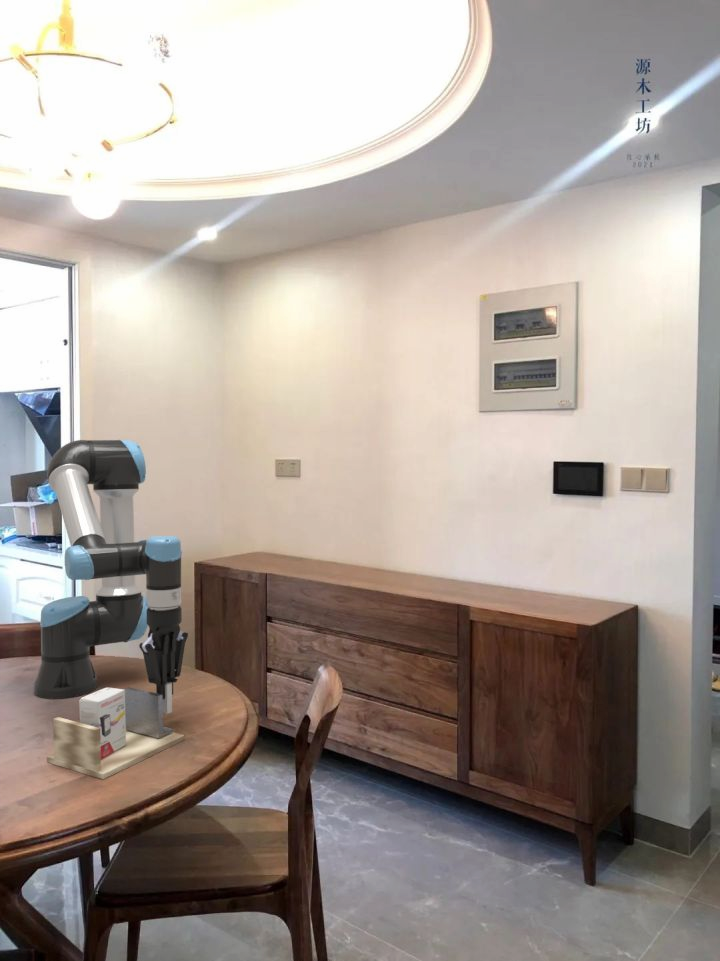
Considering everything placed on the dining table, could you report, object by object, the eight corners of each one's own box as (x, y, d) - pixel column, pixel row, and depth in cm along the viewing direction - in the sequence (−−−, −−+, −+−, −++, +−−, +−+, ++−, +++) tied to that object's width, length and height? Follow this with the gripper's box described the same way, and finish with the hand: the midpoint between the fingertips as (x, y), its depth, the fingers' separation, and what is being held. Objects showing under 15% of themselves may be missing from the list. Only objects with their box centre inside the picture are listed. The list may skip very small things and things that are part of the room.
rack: (46, 761, 148) (46, 717, 147) (130, 726, 167) (130, 686, 166) (102, 779, 140) (102, 732, 139) (184, 739, 159) (184, 698, 159)
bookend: (124, 729, 161) (124, 688, 161) (139, 723, 165) (139, 683, 165) (158, 738, 156) (158, 696, 156) (172, 731, 160) (172, 690, 160)
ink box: (99, 761, 145) (98, 702, 145) (78, 758, 147) (77, 699, 147) (127, 745, 154) (127, 688, 153) (107, 741, 155) (107, 686, 155)
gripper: (155, 614, 156) (156, 724, 157) (197, 603, 168) (197, 705, 169) (129, 610, 160) (130, 718, 161) (172, 599, 171) (173, 700, 172)
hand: (165, 711), depth 165 cm, fingers closed
